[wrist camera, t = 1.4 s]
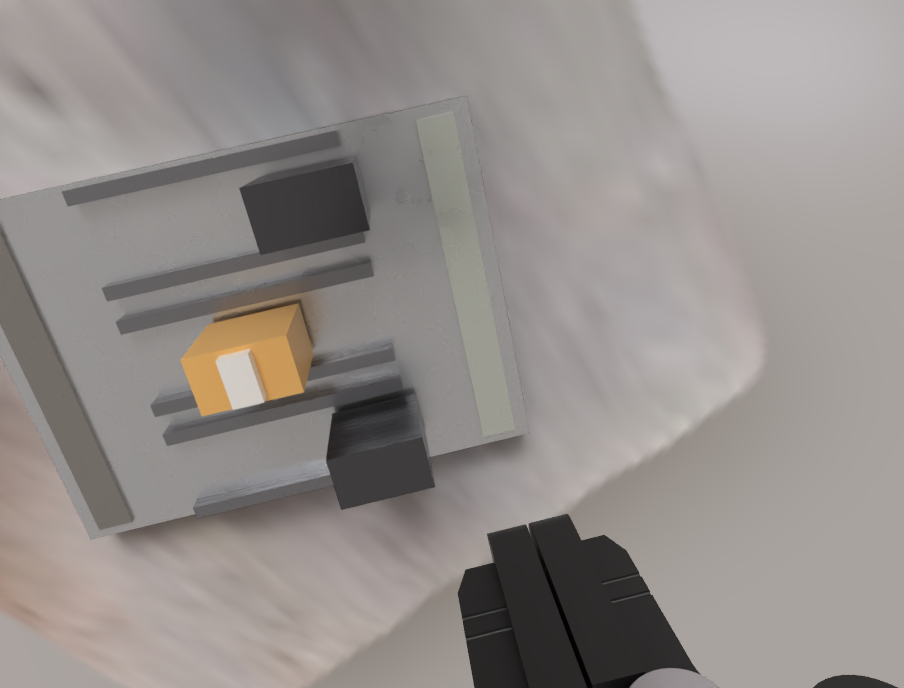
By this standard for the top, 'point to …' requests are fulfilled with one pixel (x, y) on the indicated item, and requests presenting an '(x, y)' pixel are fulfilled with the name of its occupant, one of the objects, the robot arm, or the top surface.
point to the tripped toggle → (249, 360)
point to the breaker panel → (255, 290)
